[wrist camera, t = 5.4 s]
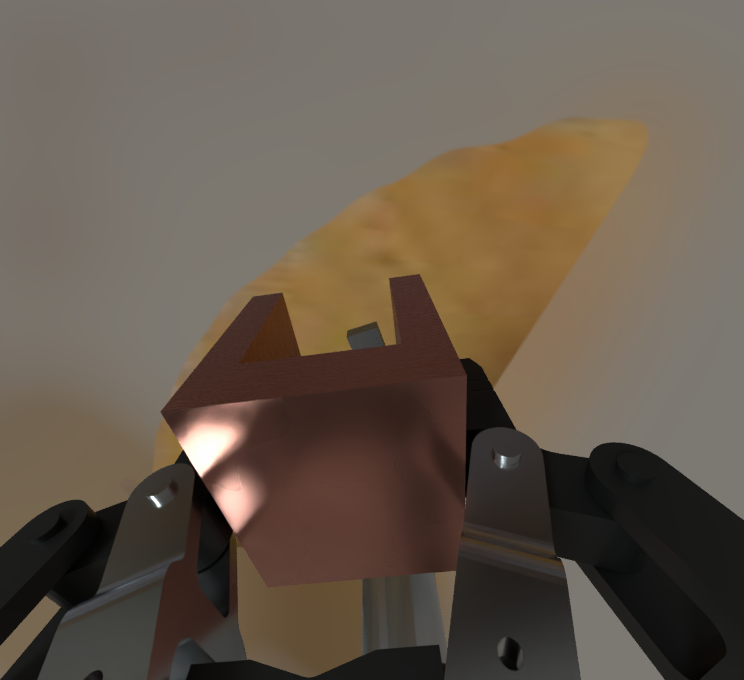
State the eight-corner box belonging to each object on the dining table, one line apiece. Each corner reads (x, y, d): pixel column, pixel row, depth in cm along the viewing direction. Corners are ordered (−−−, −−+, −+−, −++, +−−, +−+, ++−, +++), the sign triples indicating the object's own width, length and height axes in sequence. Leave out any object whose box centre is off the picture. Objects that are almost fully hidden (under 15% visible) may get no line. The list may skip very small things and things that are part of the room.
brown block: (252, 296, 10) (160, 411, 5) (419, 274, 9) (466, 375, 5) (301, 438, 13) (267, 587, 8) (429, 424, 12) (463, 569, 8)
